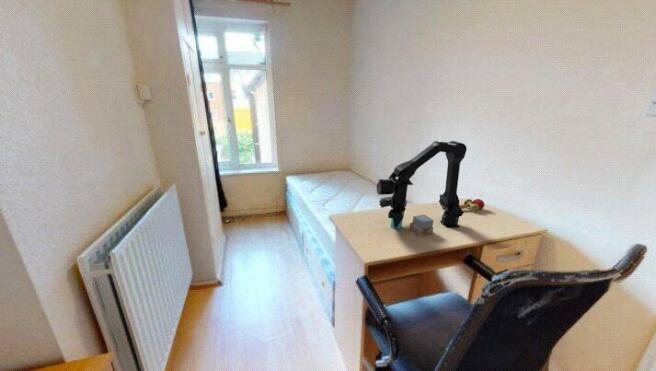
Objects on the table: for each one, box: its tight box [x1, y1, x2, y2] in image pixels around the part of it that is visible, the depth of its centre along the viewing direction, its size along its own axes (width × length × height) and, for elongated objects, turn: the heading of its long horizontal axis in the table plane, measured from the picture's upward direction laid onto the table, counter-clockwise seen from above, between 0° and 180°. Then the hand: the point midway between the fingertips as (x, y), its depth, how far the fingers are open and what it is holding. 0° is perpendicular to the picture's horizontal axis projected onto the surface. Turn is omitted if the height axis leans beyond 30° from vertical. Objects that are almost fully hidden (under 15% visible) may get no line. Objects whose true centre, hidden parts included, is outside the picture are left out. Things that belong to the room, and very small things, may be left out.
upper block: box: [412, 214, 434, 229], centre depth 114 cm, size 6×6×4 cm
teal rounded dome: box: [390, 218, 403, 231], centre depth 118 cm, size 5×5×4 cm
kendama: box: [459, 198, 485, 213], centre depth 138 cm, size 8×6×18 cm
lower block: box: [409, 222, 434, 237], centre depth 115 cm, size 7×7×4 cm
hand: (396, 224), depth 119 cm, fingers closed on teal rounded dome, 5 cm apart
